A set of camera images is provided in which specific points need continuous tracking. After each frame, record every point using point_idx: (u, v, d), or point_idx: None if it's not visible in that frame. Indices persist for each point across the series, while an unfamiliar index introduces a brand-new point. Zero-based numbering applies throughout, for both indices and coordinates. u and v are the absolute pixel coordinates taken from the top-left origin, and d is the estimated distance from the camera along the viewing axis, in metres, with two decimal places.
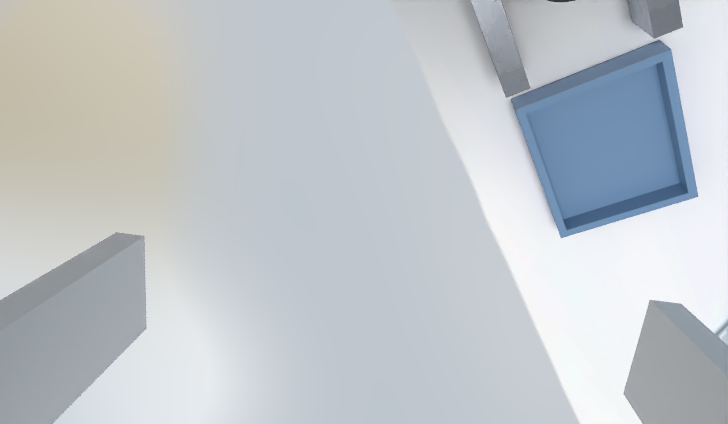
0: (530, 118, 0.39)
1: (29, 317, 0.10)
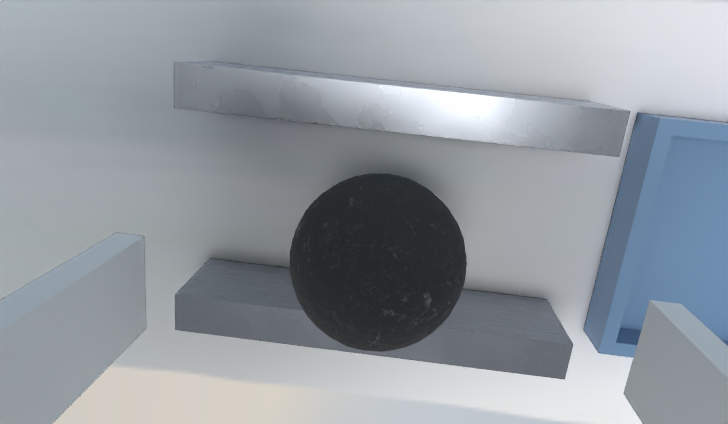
0: (630, 324, 0.24)
1: (29, 317, 0.10)
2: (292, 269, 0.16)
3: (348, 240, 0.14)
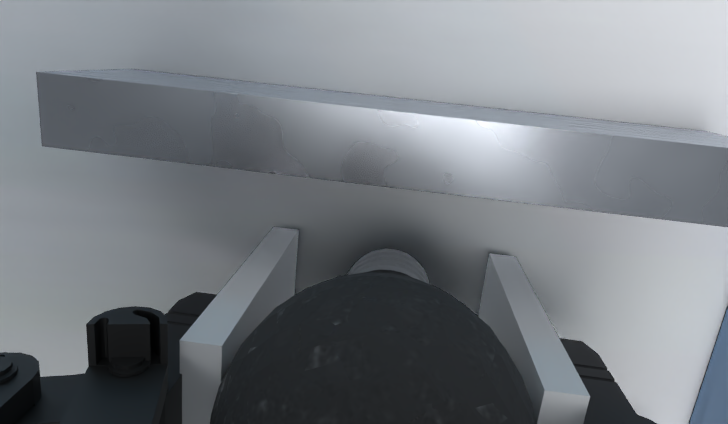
0: None
1: (257, 296, 0.11)
2: None
3: None
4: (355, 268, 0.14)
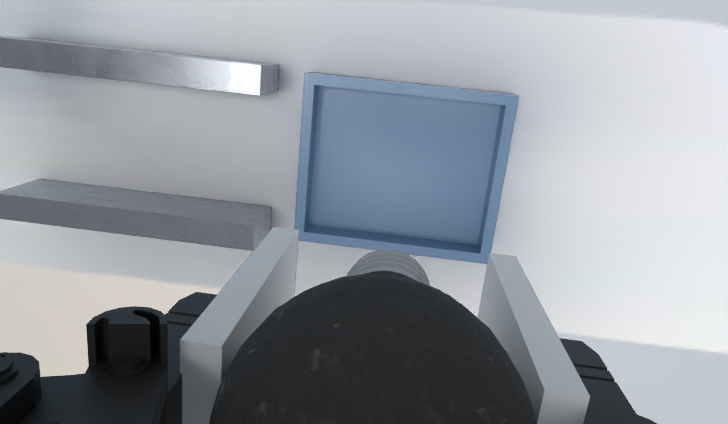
0: (326, 223, 0.34)
1: (257, 296, 0.11)
2: None
3: None
4: (355, 269, 0.14)
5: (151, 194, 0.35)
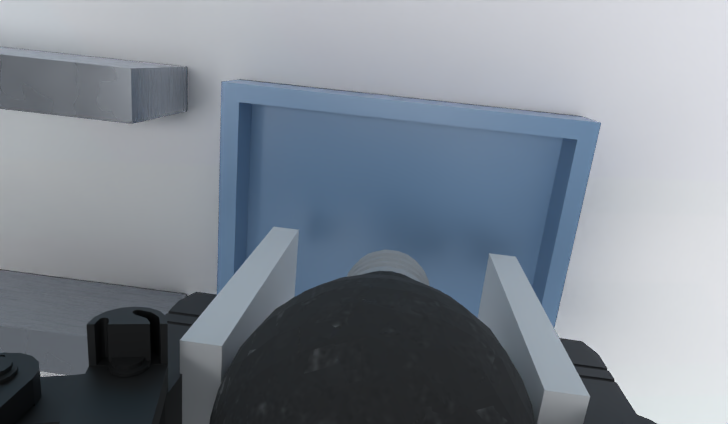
0: None
1: (256, 296, 0.11)
2: None
3: None
4: (355, 269, 0.14)
5: None
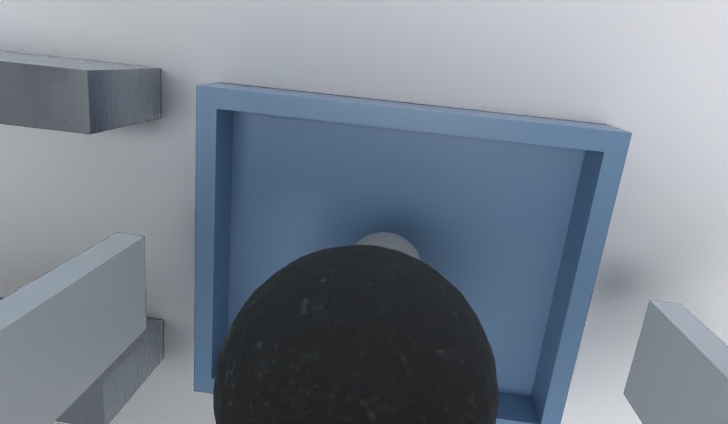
0: None
1: (29, 317, 0.10)
2: (214, 403, 0.10)
3: (292, 381, 0.08)
4: None
5: None
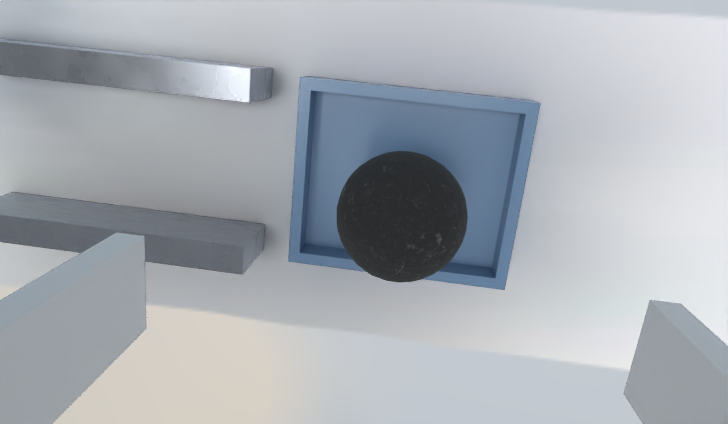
0: (325, 243, 0.31)
1: (29, 317, 0.10)
2: (339, 219, 0.22)
3: (382, 194, 0.20)
4: None
5: (133, 209, 0.32)
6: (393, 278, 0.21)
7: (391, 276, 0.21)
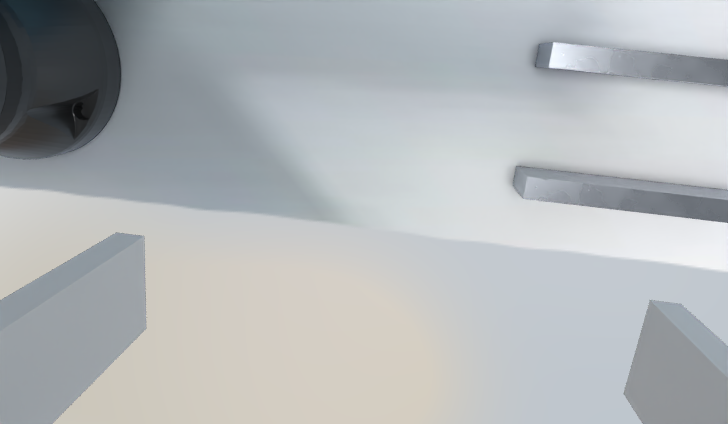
0: None
1: (29, 317, 0.10)
2: None
3: None
4: None
5: (623, 179, 0.40)
6: None
7: None
